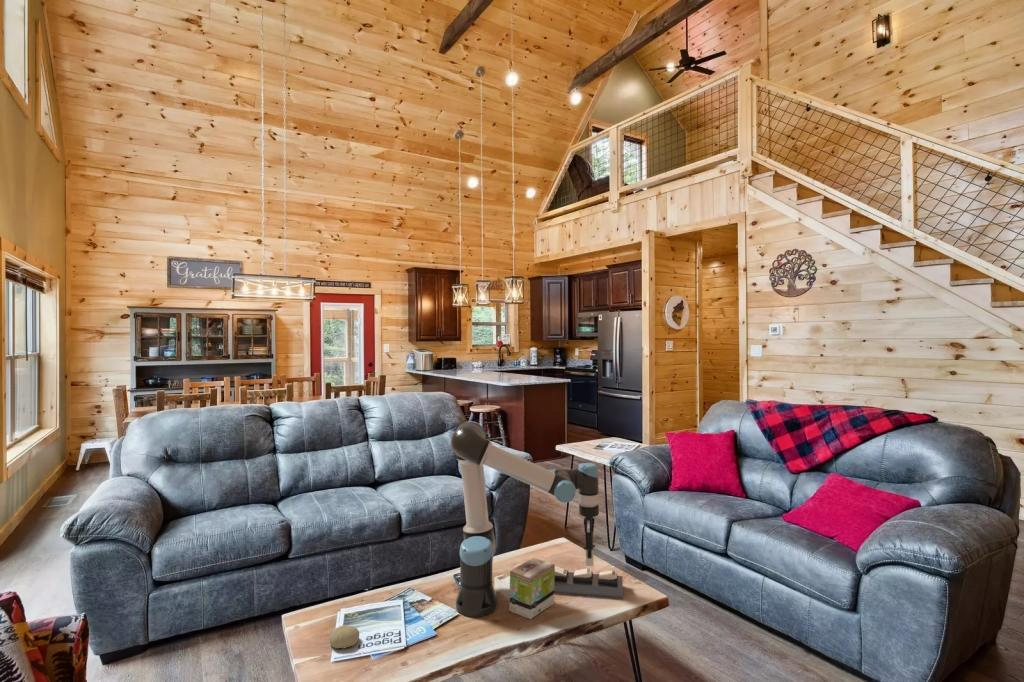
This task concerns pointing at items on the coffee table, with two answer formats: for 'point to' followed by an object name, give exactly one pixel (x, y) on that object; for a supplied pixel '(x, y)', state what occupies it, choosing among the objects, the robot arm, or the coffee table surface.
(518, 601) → the tea box
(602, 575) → the rocker
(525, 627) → the coffee table surface
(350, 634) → the brown kiwi fruit
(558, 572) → the rocker
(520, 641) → the coffee table surface
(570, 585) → the rocker switch panel
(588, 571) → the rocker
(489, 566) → the robot arm
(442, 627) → the coffee table surface
